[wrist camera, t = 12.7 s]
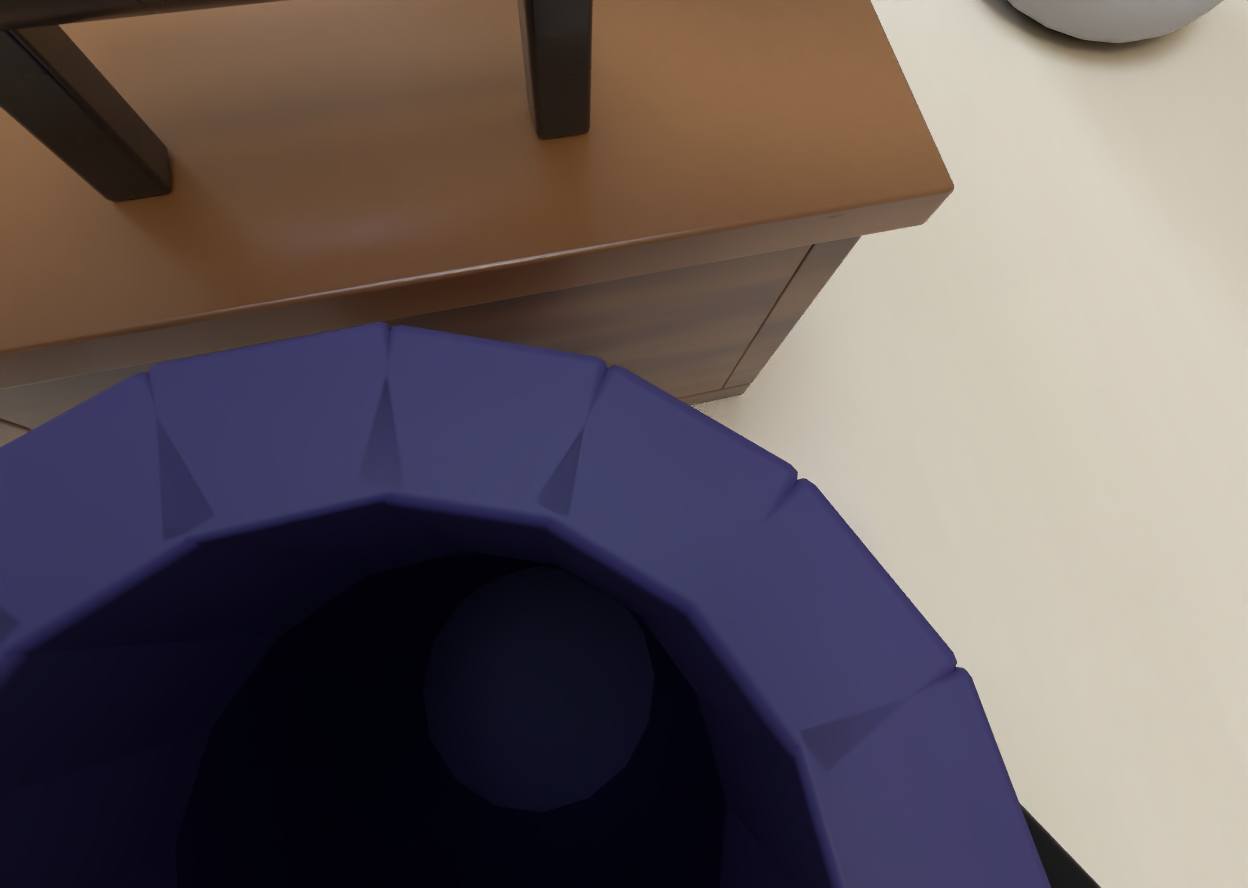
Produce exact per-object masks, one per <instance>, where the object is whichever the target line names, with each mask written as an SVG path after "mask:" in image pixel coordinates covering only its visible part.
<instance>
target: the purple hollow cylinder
mask: <svg viewBox="0 0 1248 888" xmlns="http://www.w3.org/2000/svg"><path fill="white" fill-rule="evenodd" d="M797 474H798V472H797V471H796V470H795V469H794V467H793V466H792V465H791V464H789V463H787V462H786V461H784V460H782V459H781V458H779V457H777V456H775V455H774V454H772V453H770V452H768V451H767V450H765V449H763V448H762V447H760V446H758V445H756V444H755V443H753V442H751V441H749V440H748V439H746V438H744V437H743V436H741V435H739V434H737V433H736V432H734V431H732V430H731V429H729V428H727V427H725V426H724V425H722V424H720V423H718V422H717V421H715V420H713V419H712V418H710V417H708V416H706V415H705V414H703V413H701V412H700V411H698V410H696V409H694V408H693V407H691V406H689V405H687V404H686V403H684V402H682V401H681V400H679V399H677V398H675V397H674V396H672V395H670V394H668V393H667V392H665V391H663V390H662V389H660V388H658V387H656V386H655V385H653V384H651V383H650V382H648V381H646V380H644V379H643V378H641V377H639V376H637V375H636V374H634V373H632V372H631V371H629V370H627V369H625V368H624V367H620V366H616V365H613V366H611V367H610V368H607V364H606V362H605V361H604V360H602V359H600V358H598V357H596V356H590V355H584V354H578V353H571V352H565V351H559V350H553V349H547V348H541V347H535V346H528V345H522V344H516V343H510V342H504V341H498V340H492V339H485V338H479V337H473V336H467V335H461V334H455V333H449V332H442V331H436V330H430V329H424V328H418V327H412V326H406V325H398V326H393V328H392V329H391V328H390V326H389V325H388V324H387V323H384V322H376V323H371V324H366V325H360V326H355V327H350V328H344V329H339V330H333V331H328V332H323V333H317V334H312V335H307V336H301V337H296V338H291V339H285V340H280V341H275V342H269V343H264V344H259V345H253V346H248V347H243V348H237V349H232V350H227V351H221V352H216V353H210V354H205V355H200V356H194V357H189V358H184V359H178V360H173V361H168V362H162V363H157V364H154V365H152V366H150V369H149V371H148V372H141V373H137V374H133V375H132V376H130V377H128V378H126V379H124V380H122V381H121V382H119V383H117V384H115V385H113V386H111V387H110V388H108V389H106V390H104V391H102V392H100V393H99V394H97V395H95V396H93V397H91V398H89V399H88V400H86V401H84V402H82V403H80V404H78V405H77V406H75V407H73V408H71V409H69V410H67V411H66V412H64V413H62V414H60V415H58V416H56V417H55V418H53V419H51V420H49V421H47V422H45V423H44V424H42V425H40V426H38V427H36V428H34V429H33V430H31V431H29V432H27V433H25V434H23V435H22V436H20V437H18V438H16V439H14V440H12V441H11V442H9V443H7V444H5V445H3V446H2V447H0V888H1051V886H1050V883H1049V881H1048V878H1047V875H1046V873H1045V870H1044V867H1043V865H1042V862H1041V860H1040V857H1039V854H1038V852H1037V849H1036V846H1035V844H1034V841H1033V838H1032V836H1031V833H1030V830H1029V828H1028V825H1027V823H1026V820H1025V817H1024V815H1023V812H1022V809H1021V807H1020V804H1019V801H1018V799H1017V796H1016V793H1015V791H1014V788H1013V785H1012V783H1011V780H1010V778H1009V775H1008V772H1007V770H1006V767H1005V764H1004V762H1003V759H1002V756H1001V754H1000V751H999V748H998V746H997V743H996V741H995V738H994V735H993V733H992V730H991V727H990V725H989V722H988V719H987V717H986V714H985V711H984V709H983V706H982V704H981V701H980V698H979V696H978V693H977V690H976V688H975V685H974V682H973V680H972V677H971V676H970V675H969V673H968V672H967V671H966V670H965V669H964V668H960V667H955V666H956V664H957V661H956V658H955V656H954V654H953V652H952V650H951V649H950V648H949V647H948V646H947V644H946V643H945V642H944V641H943V640H942V638H941V637H940V636H939V635H938V633H937V632H936V631H935V630H934V629H933V627H932V626H931V625H930V624H929V623H928V621H927V620H926V619H925V618H924V616H923V615H922V614H921V613H920V612H919V610H918V609H917V608H916V607H915V606H914V604H913V603H912V602H911V601H910V599H909V598H908V597H907V596H906V595H905V593H904V592H903V591H902V590H901V589H900V587H899V586H898V585H897V584H896V583H895V581H894V580H893V579H892V578H891V576H890V575H889V574H888V573H887V572H886V570H885V569H884V568H883V567H882V566H881V564H880V563H879V562H878V561H877V559H876V558H875V557H874V556H873V555H872V553H871V552H870V551H869V550H868V549H867V547H866V546H865V545H864V544H863V542H862V541H861V540H860V539H859V538H858V536H857V535H856V534H855V533H854V532H853V530H852V529H851V528H850V527H849V525H848V524H847V523H846V522H845V521H844V519H843V518H842V517H841V516H840V515H839V513H838V512H837V511H836V510H835V508H834V507H833V506H832V505H831V504H830V502H829V501H828V500H827V499H826V498H825V496H824V495H823V494H822V493H821V491H820V490H819V489H818V488H817V487H816V485H814V484H813V483H811V482H810V481H808V480H807V479H804V478H803V479H799V480H797Z"/></svg>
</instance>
